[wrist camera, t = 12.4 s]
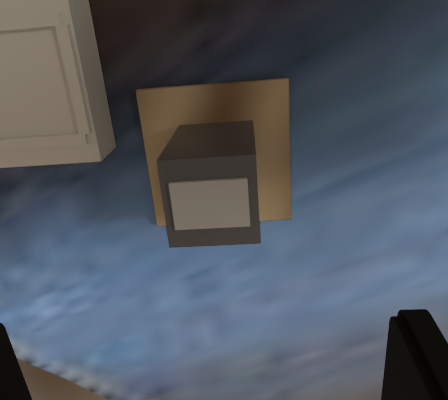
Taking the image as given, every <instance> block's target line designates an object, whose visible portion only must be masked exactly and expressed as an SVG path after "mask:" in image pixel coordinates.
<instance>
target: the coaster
mask: <svg viewBox="0 0 448 400" xmlns="http://www.w3.org/2000/svg"><path fill="white" fill-rule="evenodd" d="M136 96H137V102H138V109H139V115H140V121H141V127H142V134H143V140H144V146H145V152H146V158H147V165H148V171H149V177H150V183H151V190H152V196H153V202H154V208H155V214H156V221H157V226H166V222H165V215H164V209H163V202H162V195H161V189H160V182H159V176H158V169H157V162H156V160H157V159H158V157H159V156H160V154H161V153H162V151H163V150H164V148H165V146H166V145H167V143H168V142H169V140H170V139H171V137H172V136H173V134H174V132H175V131H176V129H177V128H178V126H179V125H191V124H205V123H220V122H234V121H248V120H253V124H254V136H255V148H256V163H257V182H258V202H259V221H270V220H290V219H291V170H290V110H289V78H276V79H262V80H249V81H236V82H223V83H210V84H197V85H184V86H170V87H157V88H144V89H137V90H136Z"/></svg>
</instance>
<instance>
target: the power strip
mask: <svg viewBox="0 0 448 400" xmlns="http://www.w3.org/2000/svg"><path fill="white" fill-rule="evenodd" d="M115 148H116V143H115V138H114V132H113V127H112V122H111V116H110V111H109V106H108V101H107V95H106V90H105V85H104V79H103V74H102V69H101V63H100V58H99V53H98V48H97V42H96V37H95V32H94V26H93V21H92V16H91V11H90V5H89V0H0V168H8V167H23V166H39V165H55V164H71V163H87V162H101V161H102V160H103V159H104V158H105V157H107V156H108V155H109V154H110V153H111V152H112V151H113V150H114V149H115Z"/></svg>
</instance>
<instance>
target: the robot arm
mask: <svg viewBox="0 0 448 400" xmlns="http://www.w3.org/2000/svg"><path fill="white" fill-rule="evenodd" d="M0 400H32V398H31V395H30V393H29V390H28V388H27V385H26V382H25V379H24V377H23V374H22V372H21V369H20V366H19V364H18V361H17V358H16V356H15V353H14V350H13V348H12V345H11V342H10V340H9V337H8V334H7V332H6V329H5V327H4V325H3V324H2V323H0ZM381 400H448V343H447V342H446V340H445V338H444V336H443V335H442V333H441V331H440V330H439V328H438V326H437V324H436V323H435V321H434V319H433V318H432V316H431V314H430V313H429V312H428V310H426V309H418V310H399V312H398V315H397V316H394V317H391V318H390V321H389V331H388V340H387V350H386V359H385V369H384V378H383V388H382V397H381Z"/></svg>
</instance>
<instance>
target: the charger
mask: <svg viewBox="0 0 448 400" xmlns="http://www.w3.org/2000/svg"><path fill="white" fill-rule="evenodd" d="M156 162H157V169H158V176H159V182H160V189H161V195H162V202H163V209H164V215H165V222H166V228H167V235H168V241H169V248H172V247H193V246H215V245H236V244H257V243H261V241H260V221H259V202H258V182H257V163H256V148H255V136H254V124H253V120H248V121H234V122H220V123H205V124H191V125H179V126H178V128H177V129H176V131H175V132H174V134H173V136H172V137H171V139H170V140H169V142H168V143H167V145H166V146H165V148H164V150H163V151H162V153H161V154H160V156H159V157H158V159H157V160H156Z"/></svg>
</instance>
